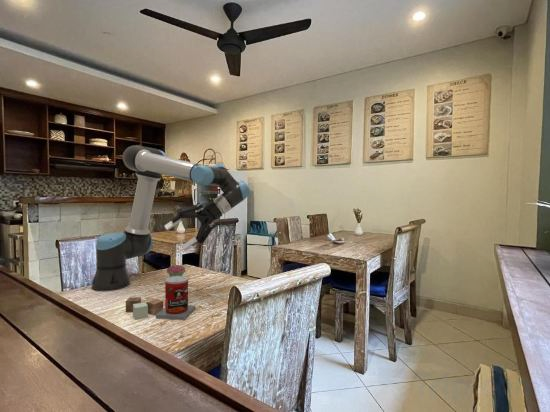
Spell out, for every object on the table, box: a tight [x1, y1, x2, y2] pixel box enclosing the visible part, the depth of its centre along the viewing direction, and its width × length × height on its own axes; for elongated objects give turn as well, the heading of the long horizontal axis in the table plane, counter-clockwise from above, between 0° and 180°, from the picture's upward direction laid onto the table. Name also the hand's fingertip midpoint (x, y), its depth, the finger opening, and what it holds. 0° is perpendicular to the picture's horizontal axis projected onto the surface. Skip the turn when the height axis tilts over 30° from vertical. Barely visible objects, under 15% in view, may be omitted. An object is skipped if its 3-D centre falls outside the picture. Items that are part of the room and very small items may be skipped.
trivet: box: [155, 304, 196, 321], centre depth 104 cm, size 10×10×1 cm
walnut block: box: [125, 296, 142, 313], centre depth 107 cm, size 4×4×4 cm
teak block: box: [145, 298, 164, 316], centre depth 105 cm, size 4×4×4 cm
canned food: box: [164, 275, 189, 314], centre depth 104 cm, size 8×8×11 cm
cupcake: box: [166, 256, 186, 277], centre depth 146 cm, size 9×8×12 cm
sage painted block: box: [132, 301, 149, 321], centre depth 101 cm, size 4×4×4 cm
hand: (174, 238), depth 119 cm, fingers open, 13 cm apart
